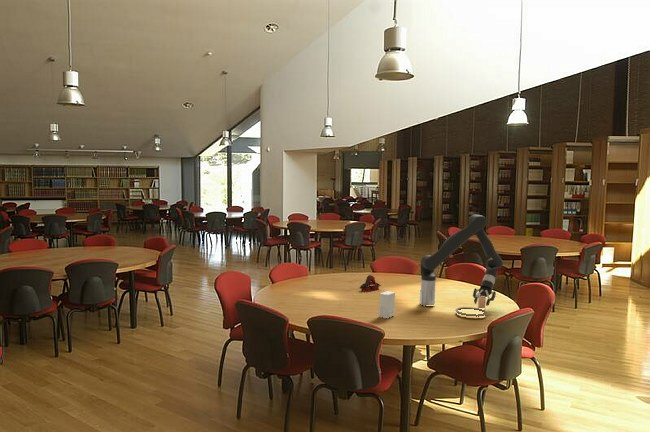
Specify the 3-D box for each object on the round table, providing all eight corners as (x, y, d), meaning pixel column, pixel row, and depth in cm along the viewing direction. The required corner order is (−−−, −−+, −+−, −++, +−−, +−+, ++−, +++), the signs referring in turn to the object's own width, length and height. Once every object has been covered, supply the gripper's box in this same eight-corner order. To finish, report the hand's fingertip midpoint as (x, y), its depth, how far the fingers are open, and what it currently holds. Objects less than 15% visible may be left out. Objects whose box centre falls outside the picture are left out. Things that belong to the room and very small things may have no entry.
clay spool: (479, 311, 326) (479, 298, 326) (477, 309, 331) (477, 296, 330) (485, 311, 326) (486, 298, 326) (483, 309, 331) (484, 296, 330)
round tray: (459, 318, 308) (459, 314, 308) (452, 310, 326) (453, 306, 326) (489, 319, 308) (490, 315, 308) (481, 311, 326) (481, 307, 325)
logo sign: (362, 292, 372) (362, 276, 371) (359, 291, 375) (359, 276, 374) (381, 289, 382) (381, 274, 381) (378, 288, 385) (378, 273, 384)
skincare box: (386, 314, 314) (387, 290, 313) (394, 316, 310) (395, 292, 308) (378, 317, 308) (379, 292, 306) (386, 319, 304) (387, 294, 302)
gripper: (476, 278, 337) (468, 299, 329) (497, 281, 329) (491, 302, 320) (478, 284, 342) (471, 305, 334) (500, 288, 334) (493, 309, 325)
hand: (480, 304), depth 327 cm, fingers open, 7 cm apart
